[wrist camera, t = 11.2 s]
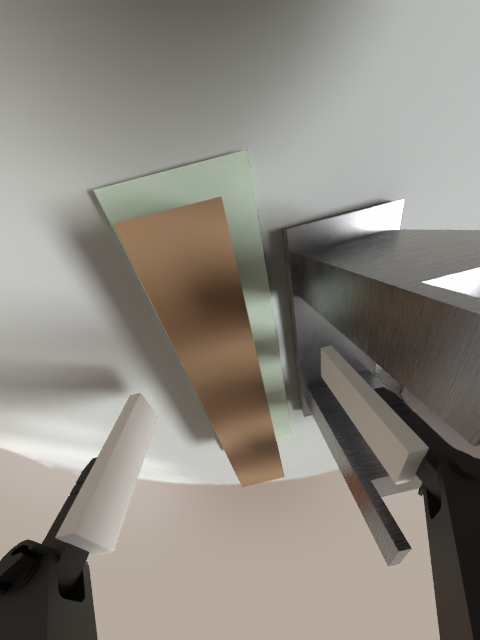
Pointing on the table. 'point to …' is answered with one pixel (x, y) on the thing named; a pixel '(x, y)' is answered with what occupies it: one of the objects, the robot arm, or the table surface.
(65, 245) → the table surface
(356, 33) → the table surface
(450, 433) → the potion bottle
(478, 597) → the robot arm
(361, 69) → the table surface
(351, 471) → the rack
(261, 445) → the rail
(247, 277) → the mat
